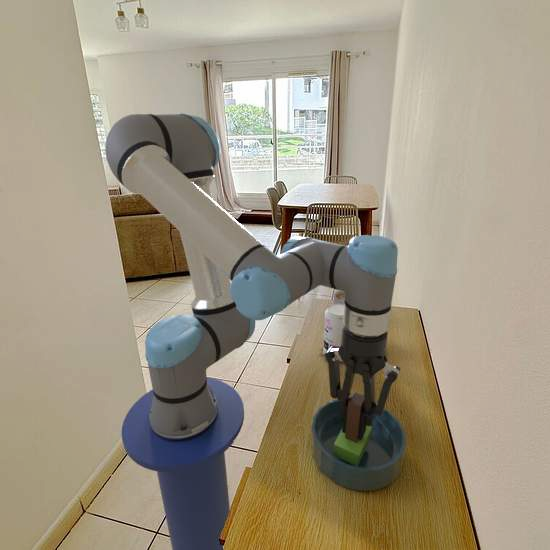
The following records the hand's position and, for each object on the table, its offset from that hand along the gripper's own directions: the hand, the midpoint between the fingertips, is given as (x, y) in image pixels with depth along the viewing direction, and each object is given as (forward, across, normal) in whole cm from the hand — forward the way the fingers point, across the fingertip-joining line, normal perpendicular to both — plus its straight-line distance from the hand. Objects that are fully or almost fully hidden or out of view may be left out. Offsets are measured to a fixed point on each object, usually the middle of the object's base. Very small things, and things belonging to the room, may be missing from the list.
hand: (353, 431), depth 69 cm
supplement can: (+7, -16, +32) cm, 36 cm away
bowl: (+7, 0, +2) cm, 7 cm away
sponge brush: (+4, 0, 0) cm, 4 cm away
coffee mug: (+7, -20, +50) cm, 54 cm away
